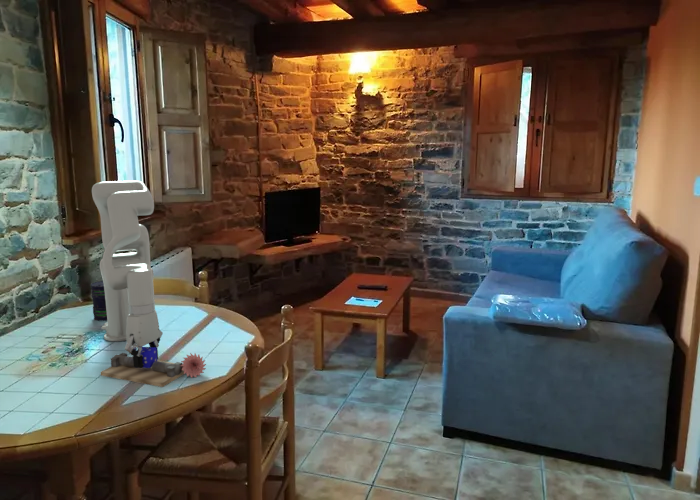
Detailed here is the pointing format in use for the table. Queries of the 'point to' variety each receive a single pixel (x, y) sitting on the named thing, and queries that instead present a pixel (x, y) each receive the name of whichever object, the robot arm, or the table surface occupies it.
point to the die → (148, 356)
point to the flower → (193, 365)
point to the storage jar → (99, 301)
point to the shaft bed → (143, 371)
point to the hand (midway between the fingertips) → (146, 362)
